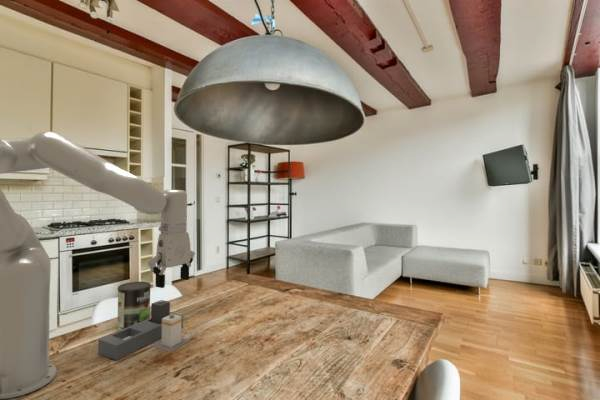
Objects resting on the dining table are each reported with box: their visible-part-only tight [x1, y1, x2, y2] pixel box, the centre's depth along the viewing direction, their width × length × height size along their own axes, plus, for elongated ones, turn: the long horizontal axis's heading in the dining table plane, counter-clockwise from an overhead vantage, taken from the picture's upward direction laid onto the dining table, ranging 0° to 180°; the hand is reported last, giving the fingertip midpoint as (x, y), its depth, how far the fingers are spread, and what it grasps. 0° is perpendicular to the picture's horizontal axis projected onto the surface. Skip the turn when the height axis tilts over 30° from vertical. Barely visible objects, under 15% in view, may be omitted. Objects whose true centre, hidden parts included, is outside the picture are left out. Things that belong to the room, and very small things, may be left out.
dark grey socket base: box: [97, 311, 184, 361], centre depth 96 cm, size 24×8×4 cm, turn 156°
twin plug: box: [150, 299, 171, 324], centre depth 102 cm, size 4×4×9 cm
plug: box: [161, 314, 182, 347], centre depth 94 cm, size 4×4×9 cm
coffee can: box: [116, 281, 152, 331], centre depth 107 cm, size 10×10×14 cm
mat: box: [151, 337, 191, 353], centre depth 94 cm, size 8×8×1 cm
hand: (172, 283), depth 95 cm, fingers open, 9 cm apart
